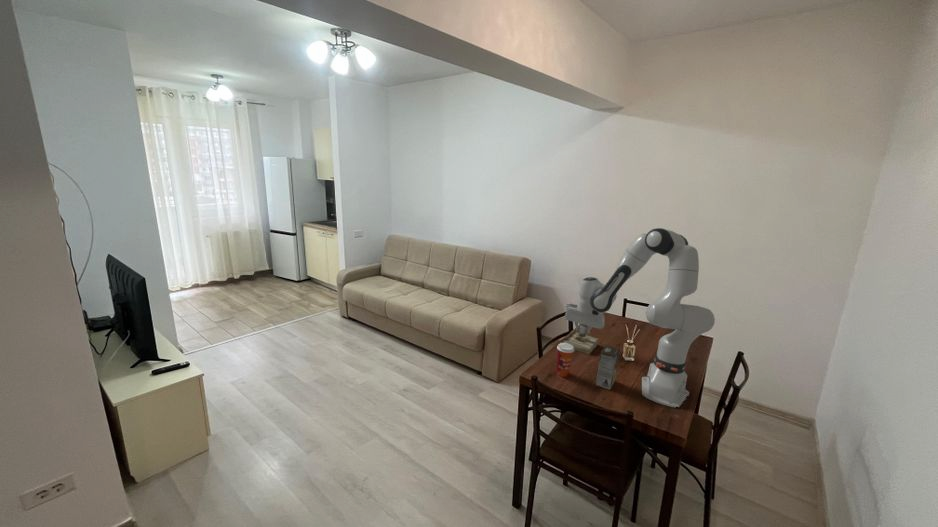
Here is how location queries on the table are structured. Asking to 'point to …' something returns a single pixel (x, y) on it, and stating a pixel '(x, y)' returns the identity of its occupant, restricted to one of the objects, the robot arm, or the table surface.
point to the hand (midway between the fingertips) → (582, 331)
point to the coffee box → (607, 367)
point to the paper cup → (564, 359)
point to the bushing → (582, 330)
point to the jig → (581, 342)
